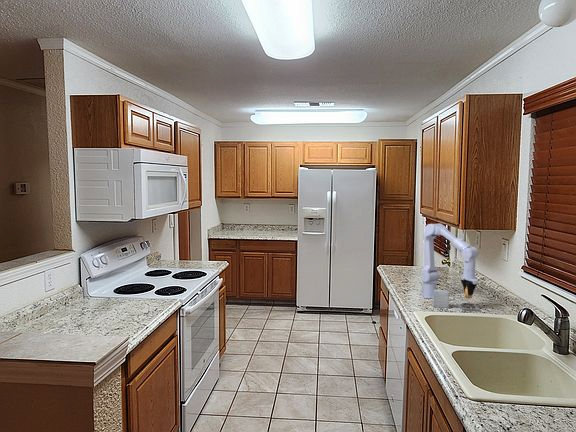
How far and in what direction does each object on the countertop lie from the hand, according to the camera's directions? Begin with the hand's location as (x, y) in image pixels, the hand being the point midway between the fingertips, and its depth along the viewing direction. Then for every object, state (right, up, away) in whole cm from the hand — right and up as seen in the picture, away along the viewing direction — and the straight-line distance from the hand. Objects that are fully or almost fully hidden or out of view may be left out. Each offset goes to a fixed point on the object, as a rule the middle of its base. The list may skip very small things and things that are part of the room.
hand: (468, 294), depth 210 cm
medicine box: (-14, -8, +3) cm, 16 cm away
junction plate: (0, -8, +1) cm, 8 cm away
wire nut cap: (0, -2, 0) cm, 2 cm away
